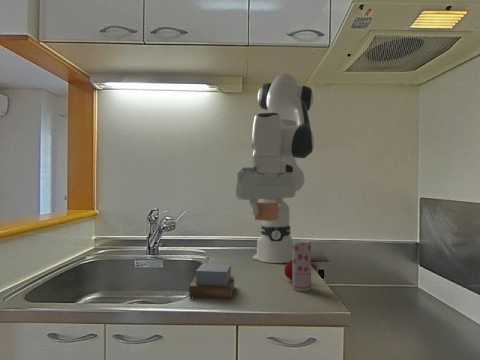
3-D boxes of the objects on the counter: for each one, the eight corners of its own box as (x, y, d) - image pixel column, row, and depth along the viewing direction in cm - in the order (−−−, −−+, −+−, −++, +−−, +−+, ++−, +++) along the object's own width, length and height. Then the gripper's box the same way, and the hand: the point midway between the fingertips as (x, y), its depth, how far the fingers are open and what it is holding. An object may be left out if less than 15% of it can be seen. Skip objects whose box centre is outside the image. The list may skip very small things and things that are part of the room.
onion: (288, 284, 127) (288, 259, 127) (281, 279, 132) (281, 256, 132) (304, 283, 128) (305, 259, 128) (297, 278, 134) (297, 255, 134)
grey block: (202, 276, 123) (202, 263, 123) (230, 277, 122) (230, 264, 122) (195, 284, 114) (196, 270, 114) (226, 285, 113) (226, 271, 113)
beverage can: (288, 287, 124) (289, 239, 123) (304, 285, 126) (304, 238, 126) (298, 292, 118) (299, 243, 118) (314, 290, 121) (314, 241, 120)
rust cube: (263, 218, 120) (264, 201, 120) (278, 219, 117) (278, 202, 117) (255, 219, 116) (255, 202, 116) (269, 221, 113) (269, 203, 113)
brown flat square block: (196, 287, 125) (196, 275, 125) (234, 288, 124) (234, 275, 124) (189, 299, 113) (189, 286, 113) (231, 301, 112) (231, 287, 112)
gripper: (244, 166, 108) (244, 217, 108) (299, 167, 119) (299, 212, 120) (231, 167, 113) (231, 215, 113) (285, 167, 124) (285, 211, 125)
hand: (266, 214), depth 116 cm, fingers closed on rust cube, 6 cm apart
